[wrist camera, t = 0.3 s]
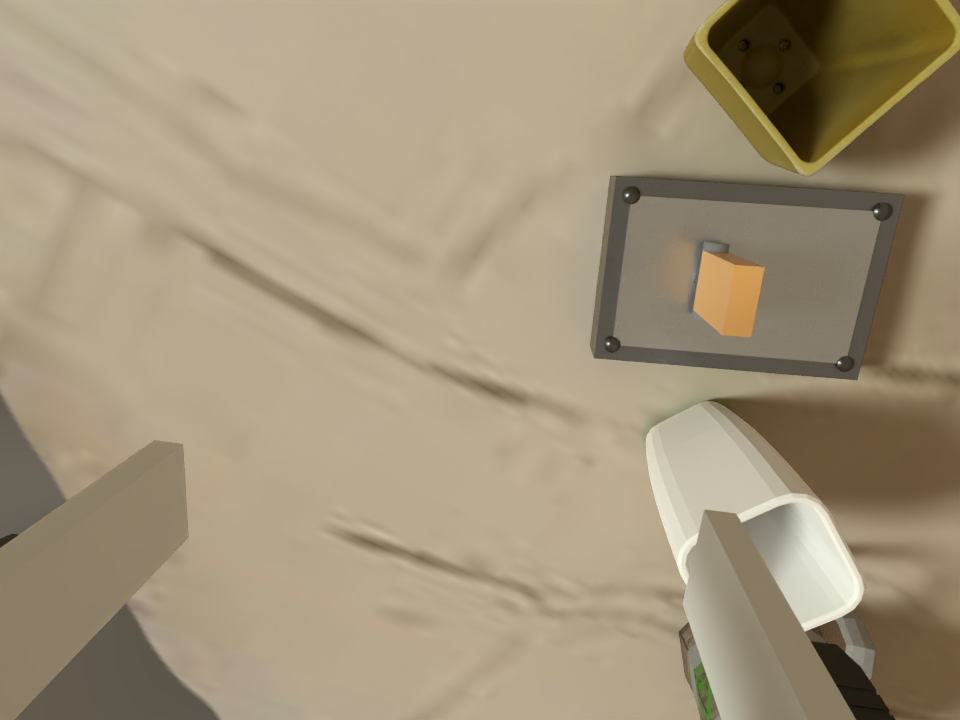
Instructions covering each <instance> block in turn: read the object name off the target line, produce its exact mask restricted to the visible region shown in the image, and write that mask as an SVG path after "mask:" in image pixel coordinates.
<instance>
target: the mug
mask: <svg viewBox="0 0 960 720" xmlns="http://www.w3.org/2000/svg"><path fill="white" fill-rule="evenodd" d="M835 621H836V622H837V623H838V625H839V628H840V630H841V633H842V635H843V638H844V640H845V643H846V650H845V653H846V654H847V655H848V656H849V657H851V658H852V659H853V660H854V661H855V662H856V663H857V664H858V665H859V666H861V668H862V669H863V671H864V672H865V674H866V676H867V677H868V679H869V680H870V679H871V678H872V676H873V672H874V665H875V658H876V649H875V647H874V645H873V643H872V640H871V638H870V636H869V633H868V631H867V629H866V627H865V624H864V622H863V621H862V620H861V619H860V618H859V617H858V615H857V614H856V613H855V612H854V611H853V610H852V611H851V612H849V613H847V614H846V615H844V616H842V617H840V618H838V619H835ZM805 633H806V634H807V636H808V638H809V640H810V641H813V642H820V643H826V641H825V640H824V638H823V636H822V633H821V631H820V629H819V626H817V627H815V628H812V629H810V630H807V631H805ZM679 636H680V643H681V650H682V658H683V665H684V672H685V676H686V679H687V681H688V683H689V685H690V687H691V689H692V691H693V694H694V697H695V700H696V704H697V707H698V710H699V714H700V719H701V720H721V717H720V714H719V711H718V708H717V705H716V702H715V699H714V696H713V693H712V690H711V687H710V684H709V681H708V678H707V675H706V672H705V669H704V666H703V663H702V660H701V657H700V654H699V651H698V648H697V645H696V642H695V639H694V636H693V633H692V630H691V627H690V624H689V622H688V623H687V624H686V625H685V626H684V627H683V628H682V629H681V630H680V631H679Z"/></svg>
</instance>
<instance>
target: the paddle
mask: <svg viewBox="0 0 960 720" xmlns="http://www.w3.org/2000/svg"><path fill="white" fill-rule="evenodd" d="M729 247H730V244H727V243H720V242H704V245H703V251H702V257H701V263H700V269H699V275H698V281H697V287H696V293H695V299H694V305H693V311H692V318H694V319H698V320H703V321H706V322H708V323H709V324H710V325H711V326H712V327H713V328H714V329H716V330H717V331H718V332H719V333H720V334H721V335H725V336H738V337H750V338H751V334H752V329H753V324H754V319H755V314H756V309H757V304H758V299H759V294H760V289H761V284H762V279H763V274H764V268H765V267H763V266H761V265H758V264H756V263H754V262H751V261H749V260H746V259H744V258H741V257H739V256H736V255H734V254H732V253H729Z"/></svg>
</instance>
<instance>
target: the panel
mask: <svg viewBox="0 0 960 720" xmlns="http://www.w3.org/2000/svg"><path fill="white" fill-rule="evenodd" d="M903 199H904V195H903V194H888V193H872V192H856V191H841V190H825V189H809V188H793V187H778V186H762V185H746V184H730V183H715V182H699V181H683V180H668V179H652V178H636V177H620V176H610V182H609V190H608V199H607V207H606V216H605V224H604V233H603V241H602V250H601V258H600V267H599V275H598V284H597V292H596V301H595V309H594V317H593V326H592V334H591V343H590V347H591V350H592V353H593V356H594V358H598V359H610V360H622V361H634V362H646V363H658V364H670V365H682V366H694V367H706V368H718V369H730V370H742V371H753V372H765V373H777V374H789V375H801V376H813V377H825V378H837V379H849V380H857V379H858V375H859V371H860V367H861V363H862V359H863V355H864V352H865V348H866V344H867V340H868V336H869V332H870V328H871V324H872V320H873V316H874V312H875V308H876V304H877V301H878V297H879V293H880V289H881V285H882V281H883V277H884V273H885V269H886V265H887V261H888V257H889V253H890V250H891V246H892V242H893V238H894V234H895V230H896V226H897V222H898V218H899V214H900V210H901V206H902V202H903ZM704 242H720V243H727V244H730V247H729V253H732V254H734V255H736V256H739V257H741V258H744V259H746V260H749V261H751V262H754V263H756V264H758V265H761V266H763V267H765V268H764V274H763V279H762V284H761V289H760V294H759V299H758V304H757V309H756V314H755V319H754V324H753V329H752V334H751V338H750V337H738V336H725V335H721V334H720V333H719V332H718V331H717V330H716V329H714V328H713V327H712V326H711V325H710V324H709V323H708V322H706V321H703V320H698V319H694V318H692V311H693V305H694V299H695V293H696V287H697V281H698V275H699V269H700V263H701V257H702V251H703V245H704Z"/></svg>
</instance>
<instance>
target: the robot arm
mask: <svg viewBox="0 0 960 720" xmlns="http://www.w3.org/2000/svg"><path fill="white" fill-rule="evenodd" d="M187 538H188V519H187V502H186V485H185V468H184V451H183V444H179V443H171V442H163V441H155V440H154V441H153V442H151V443H150V444H148V445H147V446H146V447H144V448H143V449H141V450H140V451H138V452H137V453H135V454H134V455H133V456H131V457H130V458H128V459H127V460H125V461H124V462H123V463H121V464H120V465H118V466H117V467H115V468H114V469H113V470H111V471H110V472H108V473H107V474H105V475H104V476H103V477H101V478H100V479H98V480H97V481H95V482H94V483H92V484H91V485H90V486H88V487H87V488H85V489H84V490H82V491H81V492H80V493H78V494H77V495H75V496H74V497H72V498H71V499H70V500H68V501H67V502H65V503H64V504H63V505H61V506H60V507H58V508H57V509H56V510H54V511H52V512H51V513H49V514H48V515H47V516H45V517H44V518H42V519H41V520H40V521H38V522H37V523H35V524H34V525H32V526H31V527H29V528H28V529H27V530H25V531H24V532H23V533H21V534H19V535H17V534H11V535H8V536H6V537H4V538H1V539H0V720H14V719H15V718H16V717H17V716H18V715H19V714H20V713H21V711H23V710H24V708H26V706H27V705H28V704H29V703H30V702H31V701H32V700H33V699H34V698H35V697H36V696H37V695H38V694H39V693H40V692H41V691H42V690H43V689H44V688H45V687H46V686H47V685H48V683H50V681H51V680H52V679H53V678H54V677H55V676H56V675H57V674H58V673H59V672H60V671H61V670H62V669H63V668H64V667H65V666H66V665H67V664H68V663H69V662H70V661H71V660H72V658H73V657H74V656H75V655H76V654H77V653H78V652H79V651H80V650H81V649H82V648H83V647H84V646H85V645H86V644H87V643H88V642H89V641H90V640H91V639H92V638H93V637H94V635H95V634H96V633H97V632H98V631H99V630H100V629H101V628H102V627H103V626H104V625H105V624H106V623H107V622H108V621H109V620H110V619H111V618H112V617H113V616H114V615H115V614H116V612H117V611H118V610H119V609H120V608H121V607H122V606H123V605H124V604H125V603H126V602H127V601H128V600H129V599H130V598H131V597H132V596H133V595H134V594H135V593H136V592H137V591H138V590H139V589H140V588H141V586H142V585H143V584H144V583H145V582H146V581H147V580H148V579H149V578H150V577H151V576H152V575H153V574H154V573H155V572H156V571H157V570H158V569H159V568H160V567H161V566H162V565H163V564H164V562H165V561H166V560H167V559H168V558H169V557H170V556H171V555H172V554H173V553H174V552H175V551H176V550H177V549H178V548H179V547H180V546H181V545H182V544H183V543H184V542H185V541H186V540H187ZM683 606H684V609H685V612H686V615H687V618H688V621H689V624H690V627H691V630H692V633H693V636H694V639H695V642H696V645H697V648H698V651H699V654H700V657H701V660H702V663H703V666H704V669H705V672H706V675H707V678H708V681H709V684H710V687H711V690H712V693H713V696H714V699H715V702H716V705H717V708H718V711H719V714H720V717H721V720H895V718H894V717H893V715H890V714H889V709H888V708H887V706H886V705H885V703H884V702H883V700H882V698H881V697H880V695H877V694H876V689H875V688H874V686H873V685H872V683H871V682H870V680H869V679H868V677H867V676H866V674H865V672H864V671H863V669H862V668H861V666H859V665H858V664H857V663H856V662H855V661H854V660H853V659H852V658H851V657H849V656H848V655H847V654H846V653H845V652H844V651H843V650H842V649H841V648H839V647H838V646H837V645H835V644H828V643H820V642H813V641H810V640H809V638H808V636H807V634H806V633H805V631H804V629H803V628H802V626H801V624H800V622H799V621H798V619H797V617H796V615H795V614H794V612H793V610H792V609H791V607H790V605H789V603H788V602H787V600H786V598H785V597H784V595H783V593H782V591H781V590H780V588H779V586H778V584H777V583H776V581H775V579H774V578H773V576H772V574H771V572H770V571H769V569H768V567H767V566H766V564H765V562H764V560H763V559H762V557H761V555H760V554H759V552H758V550H757V548H756V547H755V545H754V543H753V541H752V540H751V538H750V536H749V535H748V533H747V531H746V529H745V528H744V526H743V524H742V523H741V521H740V519H739V517H738V516H737V514H736V513H729V512H721V511H713V510H705V509H704V512H703V516H702V521H701V525H700V530H699V534H698V539H697V543H696V547H695V552H694V556H693V561H692V565H691V570H690V574H689V578H688V583H687V587H686V592H685V596H684V600H683Z"/></svg>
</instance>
